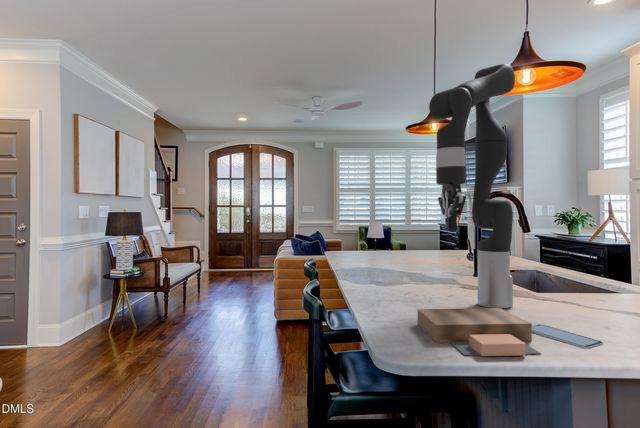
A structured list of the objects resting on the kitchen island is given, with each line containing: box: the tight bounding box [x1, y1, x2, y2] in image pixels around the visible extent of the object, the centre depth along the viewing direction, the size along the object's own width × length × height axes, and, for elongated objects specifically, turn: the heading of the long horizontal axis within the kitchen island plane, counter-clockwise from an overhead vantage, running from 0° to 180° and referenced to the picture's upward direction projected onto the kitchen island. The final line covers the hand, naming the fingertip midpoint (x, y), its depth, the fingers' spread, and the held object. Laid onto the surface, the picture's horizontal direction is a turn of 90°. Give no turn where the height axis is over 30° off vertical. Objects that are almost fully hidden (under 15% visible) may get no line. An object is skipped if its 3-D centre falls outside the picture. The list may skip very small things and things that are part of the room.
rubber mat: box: [449, 342, 542, 357], centre depth 82 cm, size 16×8×1 cm, turn 93°
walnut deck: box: [417, 307, 533, 344], centre depth 93 cm, size 22×14×4 cm, turn 93°
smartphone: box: [532, 323, 604, 349], centre depth 90 cm, size 7×1×15 cm
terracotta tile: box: [469, 334, 527, 357], centre depth 80 cm, size 9×6×2 cm, turn 92°
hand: (451, 231), depth 101 cm, fingers closed
